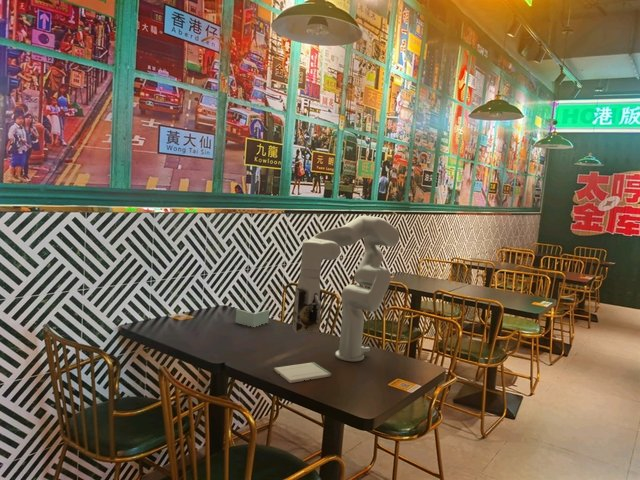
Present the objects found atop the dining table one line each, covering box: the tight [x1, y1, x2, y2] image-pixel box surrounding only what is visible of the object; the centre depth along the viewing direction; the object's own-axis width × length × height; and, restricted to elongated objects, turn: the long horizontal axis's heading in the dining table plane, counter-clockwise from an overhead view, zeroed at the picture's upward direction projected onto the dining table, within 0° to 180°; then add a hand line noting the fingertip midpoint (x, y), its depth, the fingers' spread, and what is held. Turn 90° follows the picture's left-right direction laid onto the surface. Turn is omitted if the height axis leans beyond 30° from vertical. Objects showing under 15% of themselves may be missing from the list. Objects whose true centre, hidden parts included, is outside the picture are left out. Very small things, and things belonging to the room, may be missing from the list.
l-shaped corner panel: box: [235, 309, 270, 328], centre depth 246 cm, size 12×12×8 cm
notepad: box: [273, 361, 332, 384], centre depth 183 cm, size 18×13×1 cm
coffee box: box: [292, 287, 323, 334], centre depth 181 cm, size 9×6×16 cm
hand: (306, 318), depth 181 cm, fingers closed on coffee box, 7 cm apart
